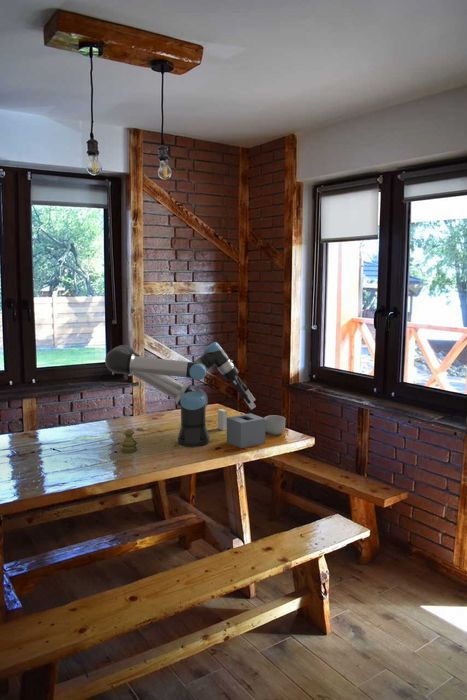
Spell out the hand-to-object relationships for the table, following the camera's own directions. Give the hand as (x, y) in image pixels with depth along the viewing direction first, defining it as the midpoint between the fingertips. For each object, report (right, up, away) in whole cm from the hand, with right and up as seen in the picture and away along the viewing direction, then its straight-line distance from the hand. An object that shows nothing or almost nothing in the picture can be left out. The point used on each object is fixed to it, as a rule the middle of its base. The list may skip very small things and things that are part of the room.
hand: (253, 404), depth 288 cm
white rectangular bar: (-16, -14, +12) cm, 24 cm away
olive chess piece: (-57, -19, -24) cm, 65 cm away
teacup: (+9, -15, +5) cm, 18 cm away
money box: (-4, -17, -11) cm, 21 cm away
